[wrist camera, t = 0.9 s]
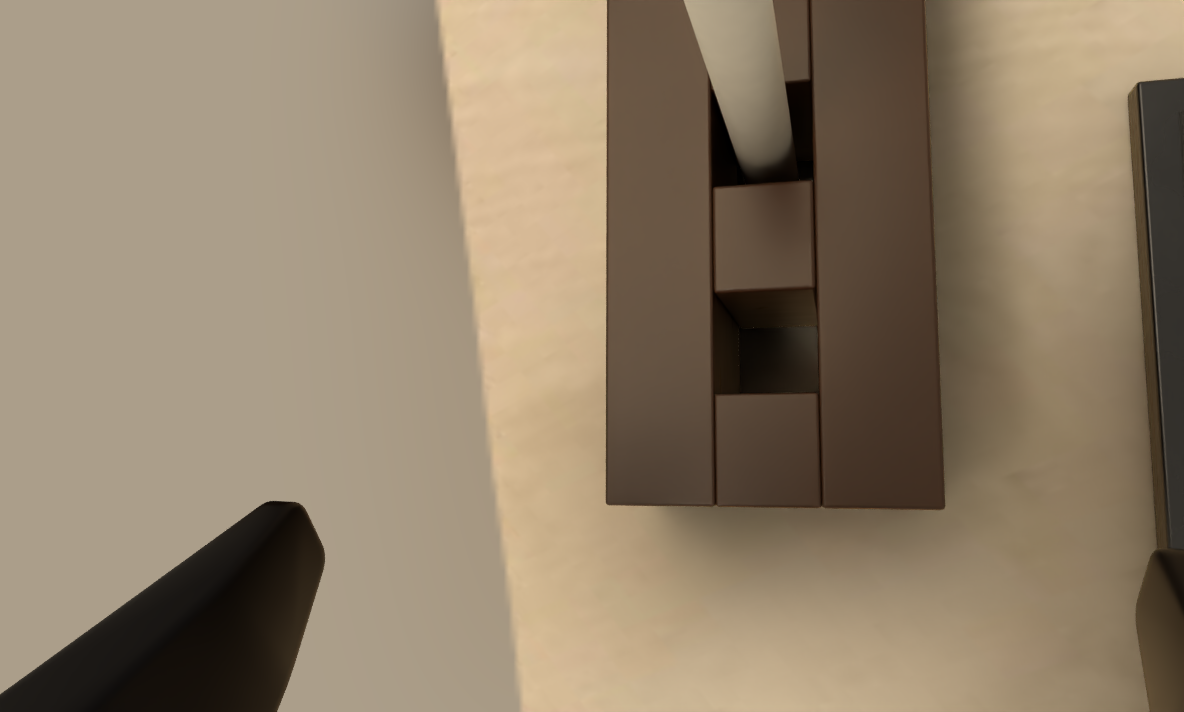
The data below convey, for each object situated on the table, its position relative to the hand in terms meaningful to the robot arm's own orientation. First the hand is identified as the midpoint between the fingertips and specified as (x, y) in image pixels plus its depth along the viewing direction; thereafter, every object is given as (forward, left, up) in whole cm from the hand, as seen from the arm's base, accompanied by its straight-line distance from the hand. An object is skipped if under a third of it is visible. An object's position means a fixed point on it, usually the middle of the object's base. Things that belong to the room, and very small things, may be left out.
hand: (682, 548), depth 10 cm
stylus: (+8, 0, -13) cm, 15 cm away
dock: (+8, 0, -13) cm, 15 cm away
